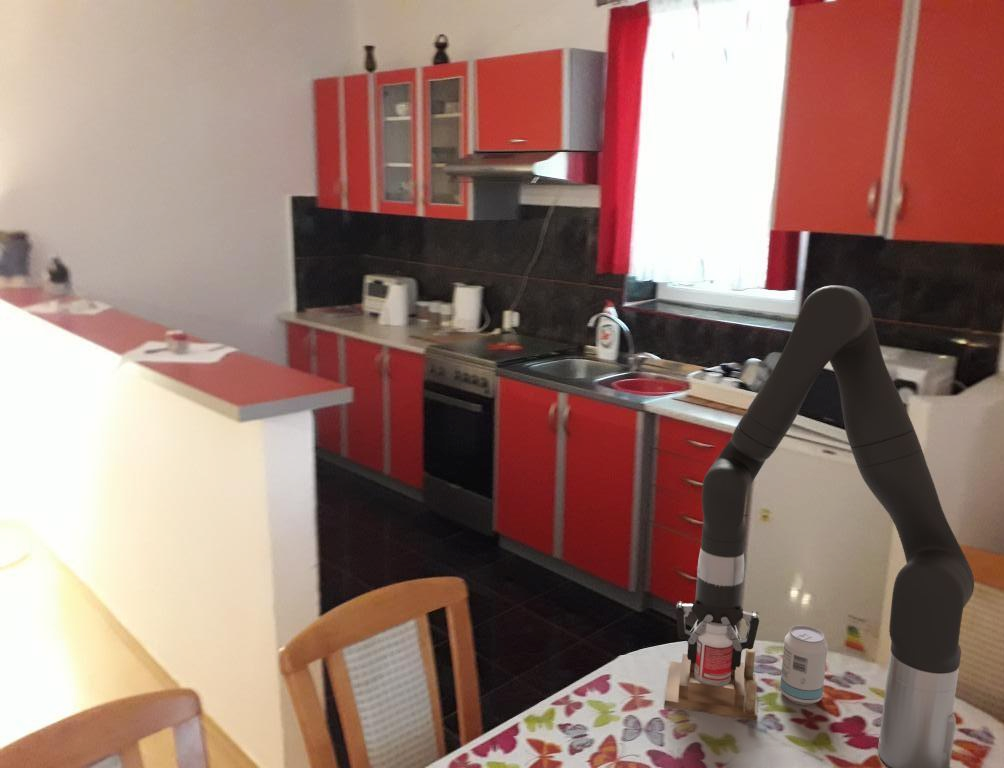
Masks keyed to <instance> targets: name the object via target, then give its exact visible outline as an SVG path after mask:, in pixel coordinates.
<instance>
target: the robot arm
mask: <svg viewBox="0 0 1004 768" xmlns="http://www.w3.org/2000/svg"><path fill="white" fill-rule="evenodd" d="M799 311H800V312H798V313H799V314H798V316H797V319H796V322H795V323H794V326H793V328H792V330H791V333H790V335H789V338H788V340H787V342H786V345H785V346H784V349H783V350H782V352H781V354H780V357H779V358H778V360H777V362H776V364H775V365H774V367H773V369H772V371H771V372H770V374H769V375H768V377H767V379H766V380H765V382H764V383H763V385H762V386H761V387H760V389H759V390H758V393H757V394H756V395H755V397H754V399H752V401H751V403H750V405H749V406H748V407H747V410H746V411H745V412H744V414H743V415H742V417H741V418H740V421H739V422H738V424H737V425H736V426H735V428H734V431H733V432H732V435H731V438H730V439H729V441H728V442H727V443H726V445H725V446H724V447H723V449H722V450H721V452H720V453H719V454H718V456H717V457H716V458H715V460H714V462H713V463H712V465H711V466H710V468H709V469H708V471H707V472H706V474H705V476H704V478H703V481H702V491H701V504H702V505H701V506H702V507H701V508H702V517H703V522H702V529H701V530H702V531H701V540H700V542H701V543H700V549H699V556H698V562H697V567H696V572H697V574H696V575H697V576H696V587H695V589H696V590H695V599H694V601H693V602H692V603H684V602H683V601H681V600H679V601H677V603H676V609H675V612H676V613H675V615H676V628H677V629H676V630H677V631H676V632H677V638H678V639H679V640H684V641H686V642H687V657H688V660H691V663H692V664H695V657H696V642H697V639H698V637H699V636H701V635H702V633H703V632H704V630H705V629H706V624H710V623H711V622H713V623H720V624H723V626H727V634H728V636H729V639H730V640H732V642H733V657H732V670H736V667H739V666H740V664H741V663H742V662H741V661H742V653H743V651H744V650H746V649H754V645H755V642H756V638H757V632H758V628H759V623H760V614H759V611H756V610H753V611H752V612H749V611H745V610H744V608H742V598H743V597H742V595H743V585H744V578H745V545H746V544H745V542H746V530H747V529H746V523H745V521H744V519H745V518H744V517H745V508H746V502H747V501H746V499H747V494H748V491H749V489H750V488H751V486H752V484H753V482H754V480H755V478H756V477H757V476H758V474H759V472H760V470H761V468H762V467H763V465H764V464H765V463H766V460H768V459H769V458H770V457H771V456H772V454H773V453H774V452H775V451H776V450H777V448H778V447H779V445H780V444H781V442H782V440H783V439H784V438H785V436H786V435H787V434H788V431H789V430H790V428H791V426H792V425H793V424H794V422H795V419H796V418H797V416H798V414H799V412H800V410H801V408H802V405H803V404H804V402H805V399H806V397H807V395H808V393H809V392H810V390H811V387H812V386H813V384H814V382H815V381H816V379H818V376H819V375H820V373H821V372H822V371H823V369H824V368H825V367H826V366H827V364H828V363H830V365H831V368H832V371H833V372H834V375H835V377H836V381H837V384H838V390H839V395H840V404H841V411H842V417H843V423H844V424H843V425H844V431H845V434H846V437H847V441H848V444H849V447H850V450H851V452H852V455H853V458H854V461H855V463H856V466H857V468H858V471H859V473H860V475H861V477H862V479H863V481H864V483H865V485H866V486H867V487H868V489H869V490H870V492H871V493H872V494H873V496H874V497H875V498H876V499H877V500H878V502H879V503H880V504H881V507H883V508H884V510H885V511H886V513H888V515H889V517H890V518H891V520H892V522H893V524H894V526H895V529H896V532H897V534H898V538H899V541H900V543H901V545H902V549H903V553H904V557H905V563H906V564H904V566H903V567H902V568H901V569H900V570H899V572H898V573H897V575H896V576H895V580H894V583H893V588H892V595H891V603H890V604H891V607H890V615H889V616H890V617H889V637H890V640H891V643H890V651H889V660H888V666H887V667H888V668H887V673H886V675H887V676H886V683H885V692H884V697H883V699H884V700H883V706H882V707H883V708H882V714H881V722H880V728H879V729H880V730H879V735H878V736H879V737H878V745H877V747H878V748H877V751H878V756H879V757H880V759H881V760H882V761H883V762H884V763H885V765H886V766H888V767H889V768H950V766H951V760H952V754H953V746H954V739H955V733H956V725H957V718H956V716H955V714H954V712H953V711H954V704H955V698H956V691H957V684H958V678H959V670H960V664H961V657H962V656H961V655H962V649H961V648H962V647H961V646H960V644H959V641H960V634H961V633H960V632H961V625H962V624H961V623H962V618H963V614H964V613H963V611H964V608H965V607H966V605H967V604H968V602H970V600H971V598H972V596H973V593H974V592H975V591H974V590H975V576H974V574H973V569H972V567H971V565H970V564H969V561H968V558H967V557H966V556H965V553H964V552H963V550H962V548H961V545H960V543H959V542H958V540H957V538H956V536H955V534H954V532H953V530H952V528H951V526H950V523H949V522H948V520H947V517H946V515H945V513H944V510H943V507H942V505H941V501H940V499H939V495H938V492H937V489H936V486H935V483H934V480H933V478H932V474H931V472H930V470H929V467H928V464H927V463H928V462H927V461H926V458H925V455H924V451H923V449H922V446H921V443H920V440H919V437H918V434H917V432H916V429H915V427H914V424H913V421H912V420H911V417H910V415H909V413H908V411H907V408H906V407H905V403H904V401H903V400H902V398H901V395H900V393H899V391H898V389H897V387H896V385H895V383H894V381H893V379H892V377H891V374H890V372H889V370H888V367H887V365H886V362H885V360H884V356H883V353H882V349H881V345H880V342H879V337H878V335H877V330H876V325H875V322H874V317H873V312H872V309H871V307H870V304H869V302H868V299H866V297H865V296H864V295H863V294H862V293H861V292H860V291H858V290H857V289H856V288H854V287H849V286H846V285H827V286H823V287H820V288H817V289H816V290H814V291H813V292H811V293H810V294H809V295H808V296H807V298H806V299H805V300H804V302H803V304H802V306H801V309H800V310H799ZM690 612H692V613H693V615H694V616H695V619H697V620H696V621H695V623H694V624H693V627H692V628H691V630H688V629H686V618H688V617H689V614H690ZM742 619H743V620H744V621H745V622H744V623H745V625H746V626H747V631H746V635H745V637H743V638H741V636H740V633H739V631H738V628H737V624H739V622H740V621H742Z"/></svg>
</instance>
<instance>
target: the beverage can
mask: <svg viewBox="0 0 1004 768" xmlns="http://www.w3.org/2000/svg"><path fill="white" fill-rule="evenodd" d="M783 643H784V644H783V654H782V664H781V673H780V674H781V675H780V682H779V690H780V692H781V693H782V694H783V696H785V697H786V698H787V699H788V700H789V701H790V702H792V703H794V704H797V705H800V706H811V705H814V704H816V703H819V702H820V701H821V700H822V699H823V693H824V686H825V685H824V684H825V677H826V669H827V668H826V667H827V665H826V664H827V658H828V657H827V656H828V646H829V645H828V643H827V641H826V639H825V634H824V633H823V632H822V631H821V630H819V629H818V628H816V627H812V626H809V625H794V626H792V627H790V629H789V632H788V633H787V634H786V636H785V637H784V641H783Z"/></svg>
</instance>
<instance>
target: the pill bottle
mask: <svg viewBox="0 0 1004 768" xmlns="http://www.w3.org/2000/svg"><path fill="white" fill-rule="evenodd" d="M732 657H733V642H732V640H730V639H729V636H728V634H727V626H723V624H720V623H713V622H711V623H710V624H706V629H705V630H704V632H703V633H702V635H701V636H699V637H698V639H697V642H696V657H695V669H694V675H695V678H696V679H697V680H698V681H699V682H700V683H702V684H706V685H712V686H718V687H723V686H726V685H727V684H729V682H730V679H731V669H732Z"/></svg>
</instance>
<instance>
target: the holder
mask: <svg viewBox="0 0 1004 768" xmlns="http://www.w3.org/2000/svg"><path fill="white" fill-rule="evenodd" d="M687 654H688V653H687ZM687 654H686V653H682V656H681V662H680V661H679V662H678V661H674V660H673V661H672V660H670V661H669V667H668V674H667V681H666V687H665V688H666V689H665V696H664V702H663V703H664V706H665V707H669V708H670V707H671V708H675V709H676V708H677V709H683V710H689V711H695V712H701V713H708V714H713V715H718V716H724V717H731V718H737V719H742V720H749V721H755V722H758V703H757V702H758V701H757V700H758V699H757V689H758V682H757V681H756V674H755V672H754V671H755V659H756V650H755V649H754V648H752V649H745V657H744V662H741V664H740V666H739V667H736V670H732V669H731V679H730V682H729V684H727V685H726V686H723V687H718V686H712V685H706V684H702V683H700V682H699V681H698V680H697V679H696V678H695V675H694V669H695V664H692V663H691V660H688V657H687Z"/></svg>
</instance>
